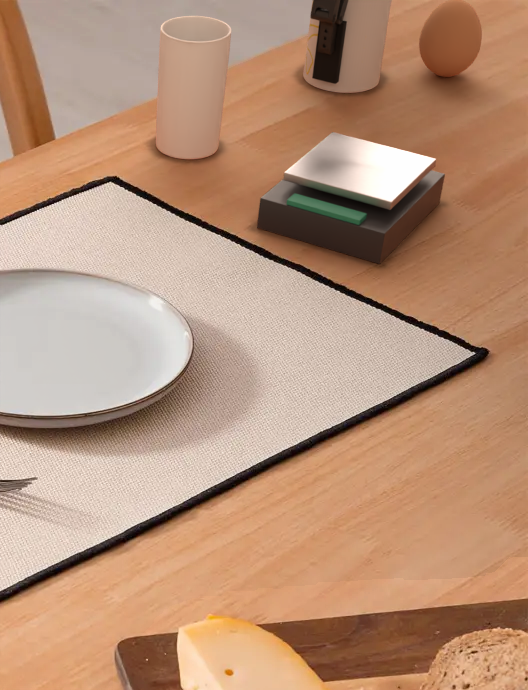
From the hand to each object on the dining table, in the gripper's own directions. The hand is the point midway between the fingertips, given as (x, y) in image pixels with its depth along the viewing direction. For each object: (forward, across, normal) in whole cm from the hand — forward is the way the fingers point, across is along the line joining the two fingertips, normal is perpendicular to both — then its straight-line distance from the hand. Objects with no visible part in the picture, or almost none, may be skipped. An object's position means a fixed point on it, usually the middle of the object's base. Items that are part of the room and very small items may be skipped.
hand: (342, 66), depth 168 cm
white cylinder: (+1, 0, 0) cm, 1 cm away
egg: (+1, -7, +9) cm, 11 cm away
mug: (+1, +23, -6) cm, 24 cm away
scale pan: (-2, +28, +14) cm, 31 cm away
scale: (+1, +29, +14) cm, 32 cm away
